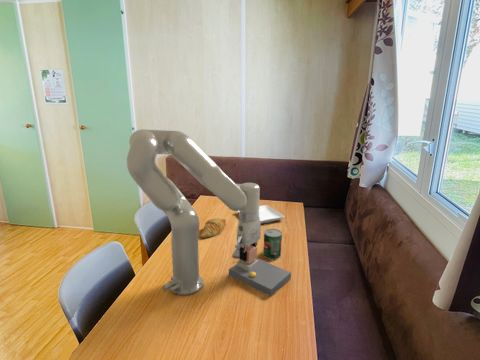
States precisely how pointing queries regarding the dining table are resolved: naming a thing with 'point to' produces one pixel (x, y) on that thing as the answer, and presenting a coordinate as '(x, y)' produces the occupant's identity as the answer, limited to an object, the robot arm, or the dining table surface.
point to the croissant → (213, 227)
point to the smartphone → (236, 253)
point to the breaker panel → (260, 276)
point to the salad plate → (268, 214)
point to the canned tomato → (272, 243)
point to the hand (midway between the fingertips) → (247, 256)
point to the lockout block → (250, 254)
